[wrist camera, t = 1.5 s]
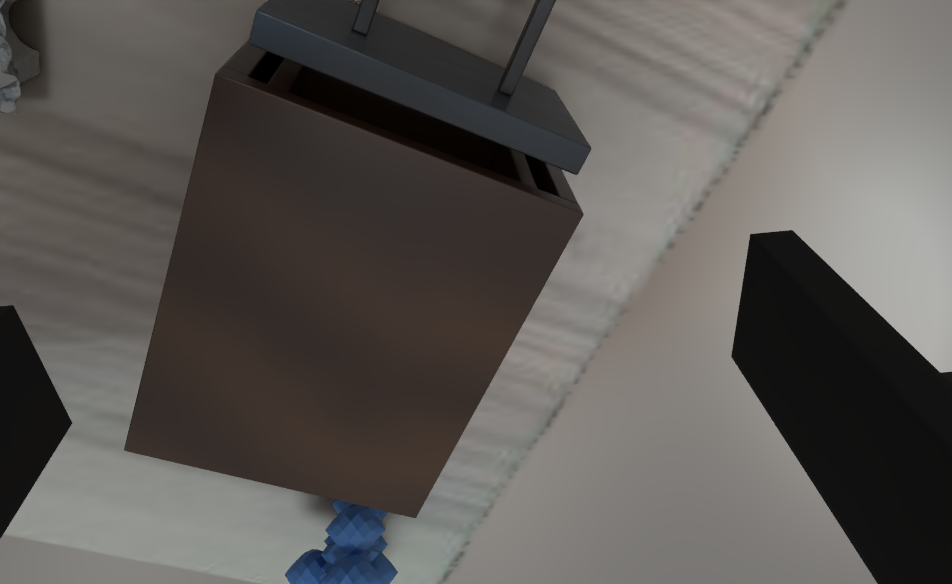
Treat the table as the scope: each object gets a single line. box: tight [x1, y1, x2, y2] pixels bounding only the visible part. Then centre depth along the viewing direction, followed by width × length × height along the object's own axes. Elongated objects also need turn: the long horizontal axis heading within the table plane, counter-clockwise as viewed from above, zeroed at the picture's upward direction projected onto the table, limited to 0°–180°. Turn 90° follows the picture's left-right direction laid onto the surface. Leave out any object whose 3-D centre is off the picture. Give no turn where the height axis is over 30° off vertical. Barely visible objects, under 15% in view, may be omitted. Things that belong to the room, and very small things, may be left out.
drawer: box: [249, 0, 591, 188], centre depth 30 cm, size 22×13×8 cm, turn 156°
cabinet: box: [124, 40, 583, 518], centre depth 33 cm, size 18×14×10 cm
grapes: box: [285, 500, 398, 584], centre depth 42 cm, size 12×7×12 cm, turn 176°
